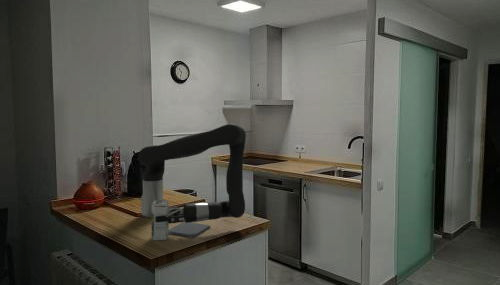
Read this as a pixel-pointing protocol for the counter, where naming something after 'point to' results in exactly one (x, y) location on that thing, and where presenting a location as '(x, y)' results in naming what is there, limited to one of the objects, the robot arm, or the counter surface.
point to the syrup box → (160, 228)
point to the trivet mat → (188, 229)
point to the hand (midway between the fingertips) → (154, 216)
